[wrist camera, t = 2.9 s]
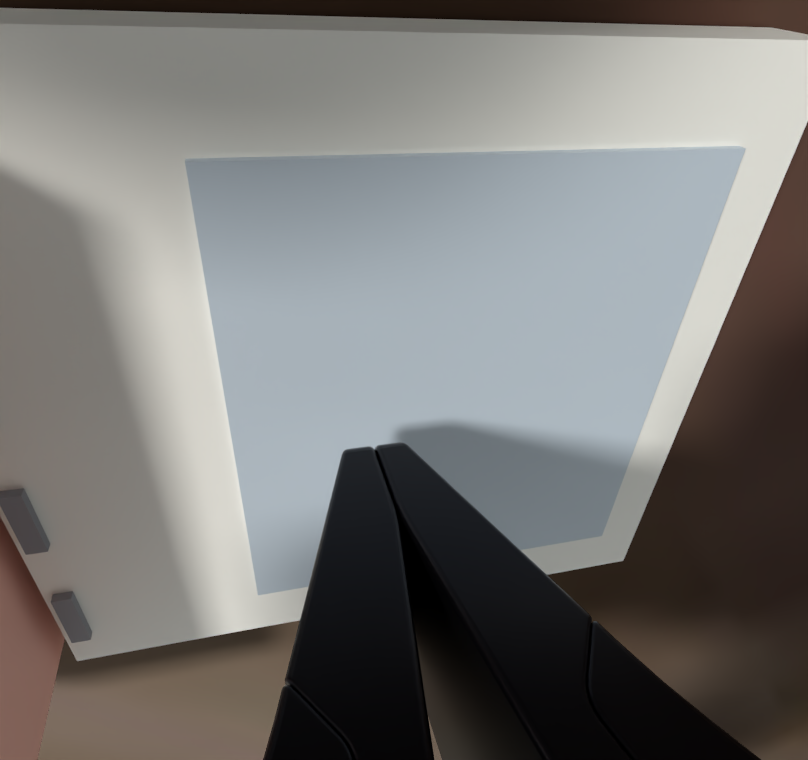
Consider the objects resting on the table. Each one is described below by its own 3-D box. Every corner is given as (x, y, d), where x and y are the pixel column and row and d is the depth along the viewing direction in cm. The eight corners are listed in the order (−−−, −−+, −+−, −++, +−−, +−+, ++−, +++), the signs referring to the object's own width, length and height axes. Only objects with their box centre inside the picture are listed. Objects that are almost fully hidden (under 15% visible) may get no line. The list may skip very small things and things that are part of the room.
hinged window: (770, 27, 8) (851, 42, 7) (597, 518, 14) (626, 566, 13) (-186, 3, 6) (-275, 21, 5) (89, 603, 12) (75, 669, 11)
